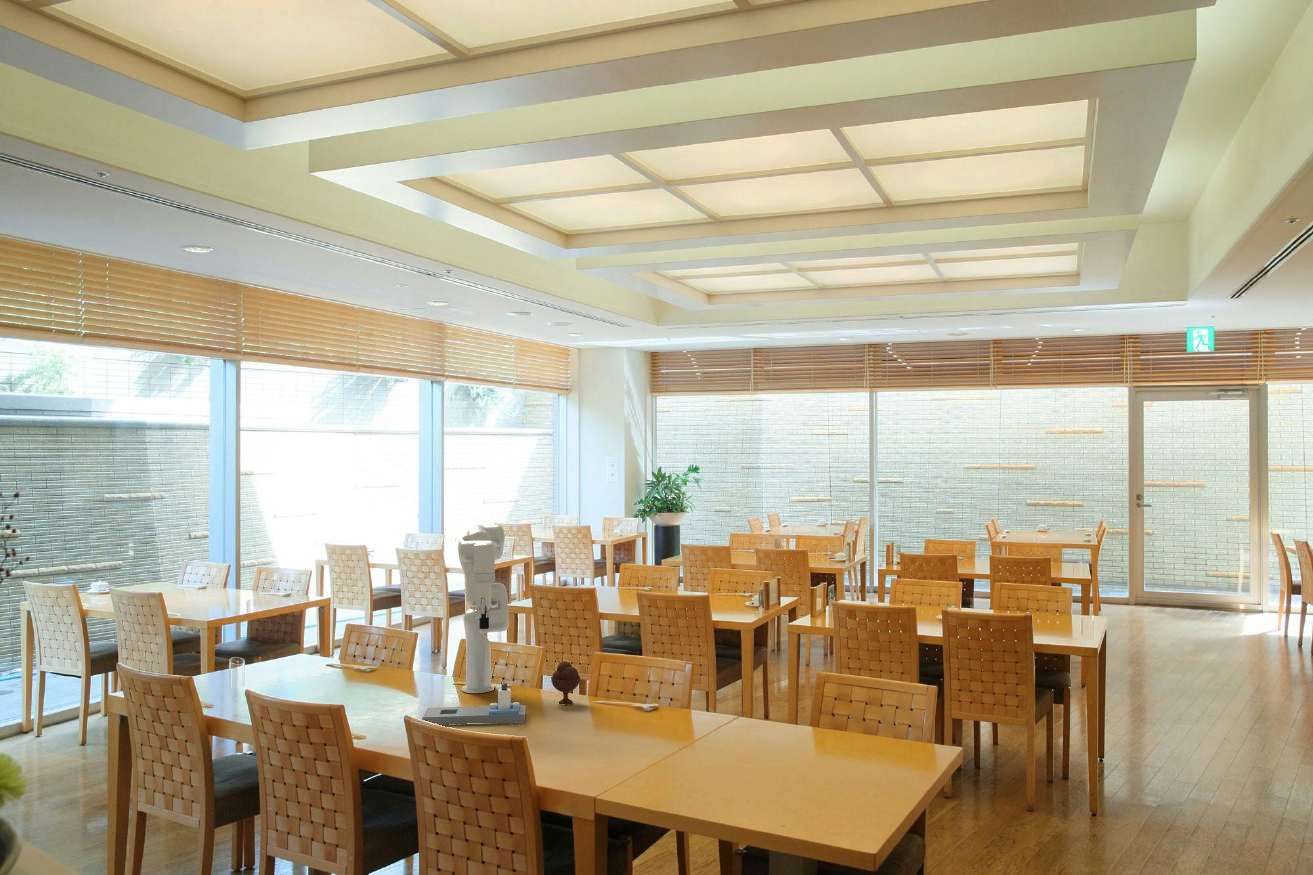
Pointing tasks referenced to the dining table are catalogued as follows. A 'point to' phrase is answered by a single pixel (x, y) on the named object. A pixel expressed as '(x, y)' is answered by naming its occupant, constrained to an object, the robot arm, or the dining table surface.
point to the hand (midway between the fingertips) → (484, 628)
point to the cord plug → (504, 697)
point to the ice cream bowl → (565, 680)
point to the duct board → (475, 714)
